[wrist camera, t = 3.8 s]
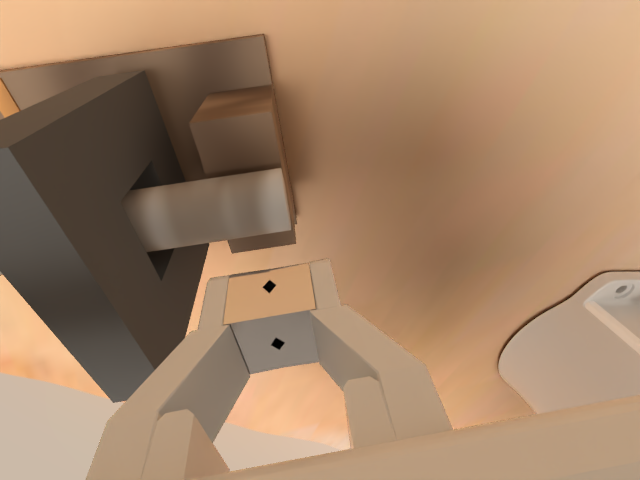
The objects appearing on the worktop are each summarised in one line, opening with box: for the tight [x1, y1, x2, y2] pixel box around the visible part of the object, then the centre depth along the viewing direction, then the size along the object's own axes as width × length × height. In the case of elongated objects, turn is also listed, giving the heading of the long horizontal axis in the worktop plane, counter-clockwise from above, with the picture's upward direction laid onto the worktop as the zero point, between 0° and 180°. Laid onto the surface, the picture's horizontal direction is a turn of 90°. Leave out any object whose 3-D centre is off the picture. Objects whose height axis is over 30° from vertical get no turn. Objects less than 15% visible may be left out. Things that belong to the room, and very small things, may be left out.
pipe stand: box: [0, 34, 297, 276], centre depth 15 cm, size 18×10×8 cm, turn 96°
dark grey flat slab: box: [0, 70, 209, 403], centre depth 13 cm, size 2×9×9 cm, turn 6°
